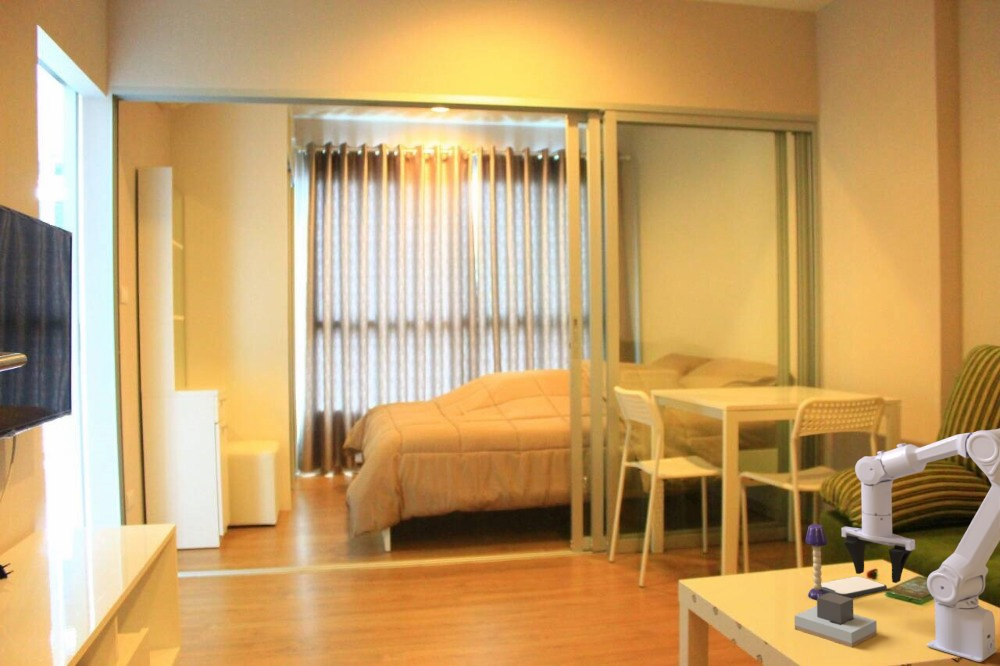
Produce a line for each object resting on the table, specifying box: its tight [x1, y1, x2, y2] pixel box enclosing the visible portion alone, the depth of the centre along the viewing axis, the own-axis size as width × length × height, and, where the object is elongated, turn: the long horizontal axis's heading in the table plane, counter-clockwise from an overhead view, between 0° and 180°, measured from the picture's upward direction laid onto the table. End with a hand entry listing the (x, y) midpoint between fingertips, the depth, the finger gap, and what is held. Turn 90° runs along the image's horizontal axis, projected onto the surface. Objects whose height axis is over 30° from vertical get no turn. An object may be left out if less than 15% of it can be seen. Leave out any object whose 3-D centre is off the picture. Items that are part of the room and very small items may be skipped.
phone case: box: [821, 575, 888, 599], centre depth 179 cm, size 9×2×16 cm
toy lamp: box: [805, 523, 828, 601], centre depth 174 cm, size 5×5×17 cm
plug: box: [816, 592, 854, 625], centre depth 154 cm, size 5×5×6 cm
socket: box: [794, 605, 878, 648], centre depth 154 cm, size 12×10×3 cm
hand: (877, 577), depth 159 cm, fingers open, 7 cm apart
